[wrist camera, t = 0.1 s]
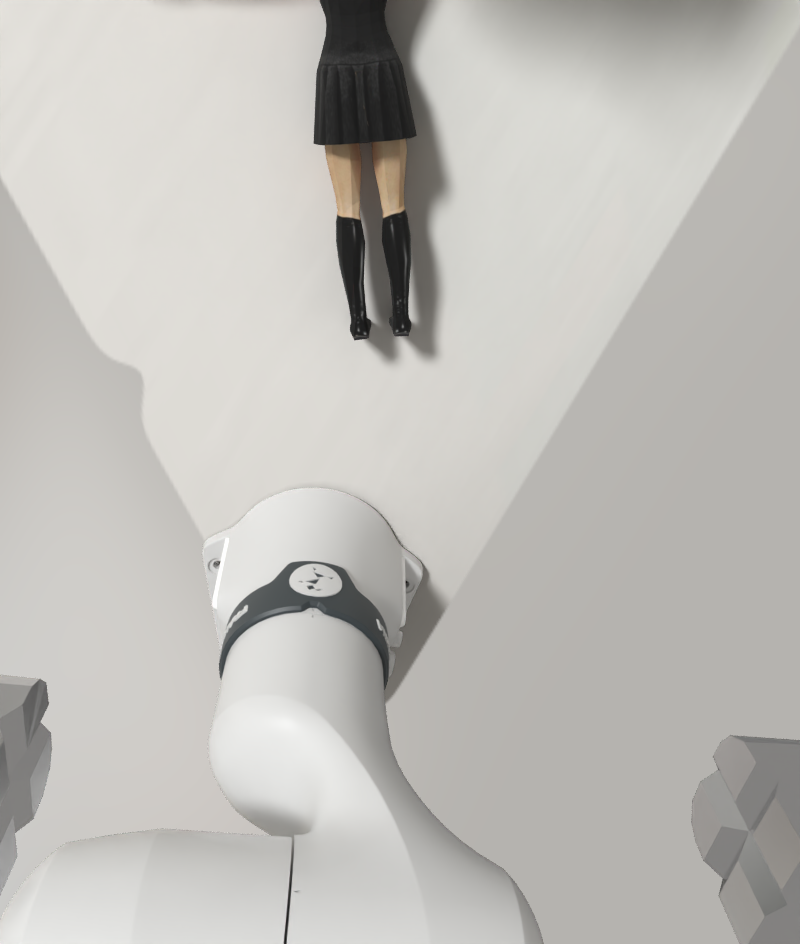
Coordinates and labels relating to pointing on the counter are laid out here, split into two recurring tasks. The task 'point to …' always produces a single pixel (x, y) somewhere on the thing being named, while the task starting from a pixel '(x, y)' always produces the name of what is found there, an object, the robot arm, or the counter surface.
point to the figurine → (362, 121)
